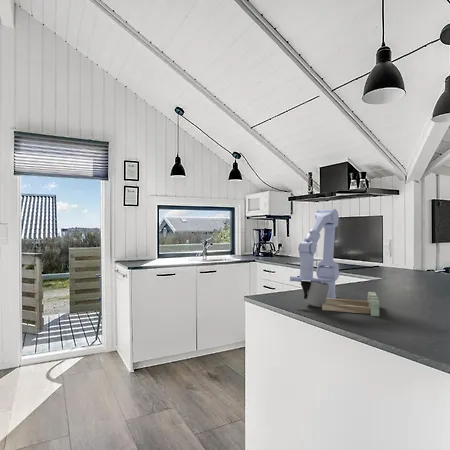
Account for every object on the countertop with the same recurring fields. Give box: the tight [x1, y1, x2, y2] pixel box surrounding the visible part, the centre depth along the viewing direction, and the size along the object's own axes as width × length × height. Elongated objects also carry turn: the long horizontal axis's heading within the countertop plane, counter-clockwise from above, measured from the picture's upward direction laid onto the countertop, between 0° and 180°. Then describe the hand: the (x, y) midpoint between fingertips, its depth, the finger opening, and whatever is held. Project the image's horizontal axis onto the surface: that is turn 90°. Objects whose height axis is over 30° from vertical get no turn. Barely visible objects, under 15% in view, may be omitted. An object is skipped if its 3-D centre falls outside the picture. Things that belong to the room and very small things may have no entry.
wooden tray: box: [321, 291, 380, 317], centre depth 152 cm, size 20×22×6 cm
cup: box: [305, 281, 330, 308], centre depth 156 cm, size 8×8×10 cm
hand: (305, 298), depth 158 cm, fingers closed, pressing on cup
